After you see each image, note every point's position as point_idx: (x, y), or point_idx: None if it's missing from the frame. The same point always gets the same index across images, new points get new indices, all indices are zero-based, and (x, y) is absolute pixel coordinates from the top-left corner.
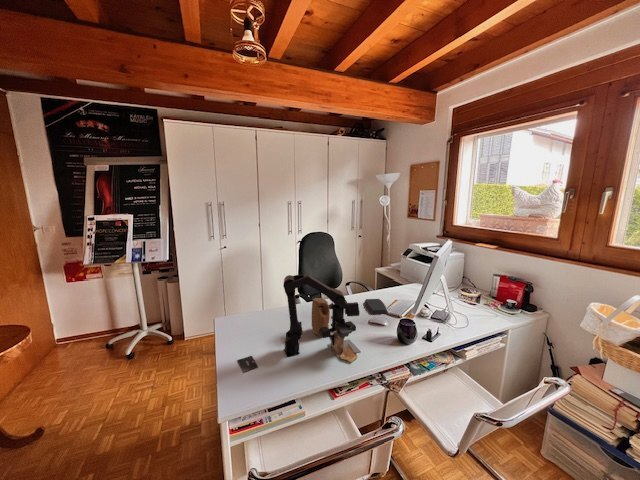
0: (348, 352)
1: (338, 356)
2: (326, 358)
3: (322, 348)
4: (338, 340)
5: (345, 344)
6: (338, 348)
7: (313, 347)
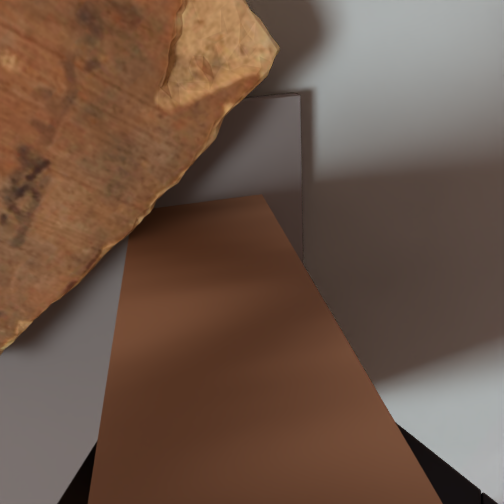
0: (6, 110)
1: (278, 129)
2: (492, 158)
3: (406, 398)
4: (431, 502)
5: (1, 437)
6: (286, 262)
7: (497, 429)
